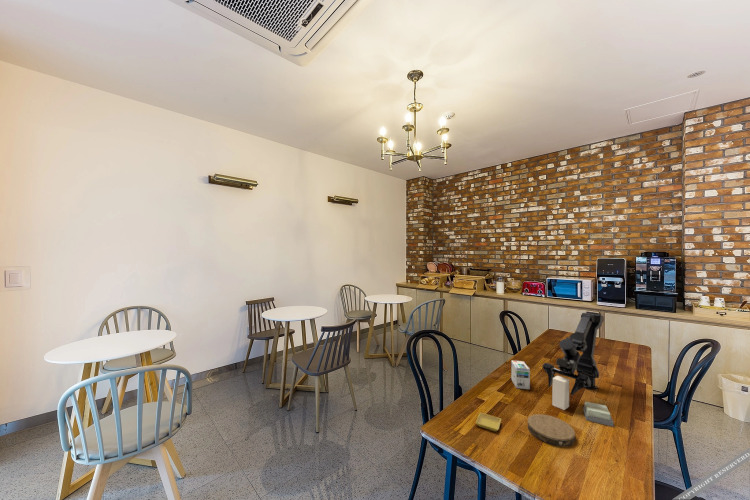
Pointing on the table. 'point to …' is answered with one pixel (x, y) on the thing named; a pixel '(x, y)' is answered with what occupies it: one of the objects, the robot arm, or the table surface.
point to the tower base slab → (598, 419)
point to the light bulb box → (520, 374)
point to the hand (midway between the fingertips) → (560, 390)
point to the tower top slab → (597, 410)
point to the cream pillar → (560, 392)
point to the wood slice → (551, 430)
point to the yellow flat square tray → (488, 422)
